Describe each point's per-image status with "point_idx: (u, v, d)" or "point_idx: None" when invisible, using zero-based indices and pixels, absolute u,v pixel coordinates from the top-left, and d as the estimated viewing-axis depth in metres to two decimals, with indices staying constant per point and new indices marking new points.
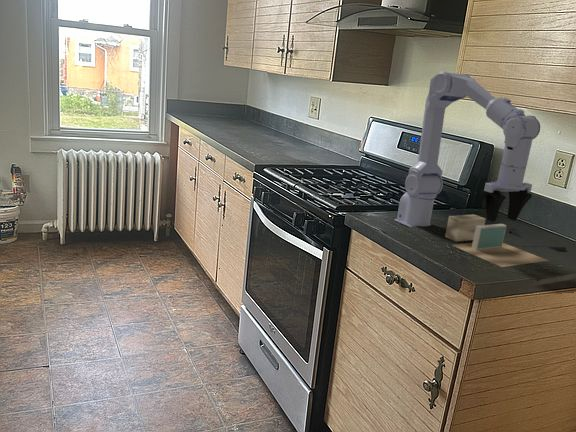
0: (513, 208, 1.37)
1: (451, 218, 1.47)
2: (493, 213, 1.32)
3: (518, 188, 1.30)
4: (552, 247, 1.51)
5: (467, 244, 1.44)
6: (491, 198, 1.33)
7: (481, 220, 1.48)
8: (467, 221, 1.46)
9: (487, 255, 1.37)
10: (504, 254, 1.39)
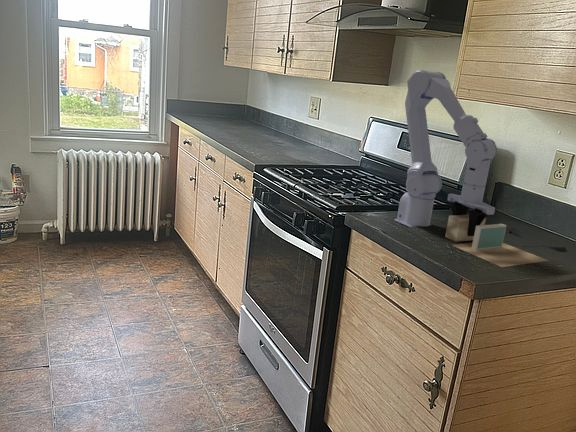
0: None
1: (451, 217, 1.47)
2: None
3: None
4: (552, 247, 1.51)
5: (467, 244, 1.44)
6: None
7: None
8: (467, 221, 1.45)
9: (487, 255, 1.37)
10: (504, 254, 1.39)
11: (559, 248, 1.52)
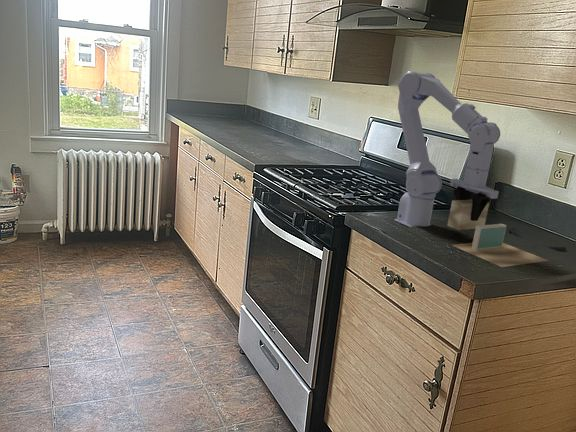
0: None
1: (454, 202, 1.45)
2: None
3: None
4: (552, 247, 1.51)
5: (467, 244, 1.44)
6: None
7: None
8: (470, 205, 1.44)
9: (487, 255, 1.37)
10: (504, 254, 1.39)
11: (559, 248, 1.52)
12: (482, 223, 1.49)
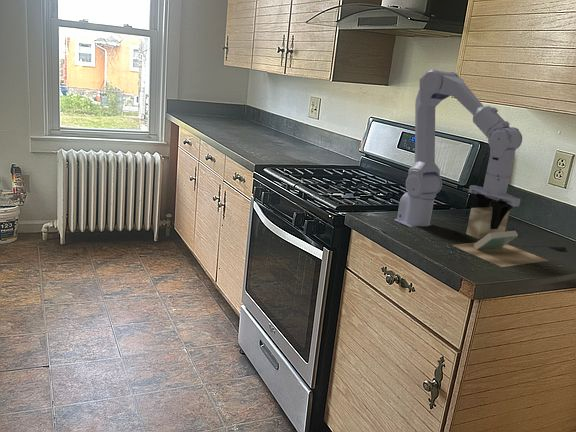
0: None
1: (473, 210, 1.40)
2: None
3: None
4: (552, 247, 1.51)
5: (467, 244, 1.44)
6: None
7: None
8: (490, 213, 1.39)
9: (487, 255, 1.37)
10: (504, 254, 1.39)
11: (559, 248, 1.52)
12: (502, 231, 1.44)
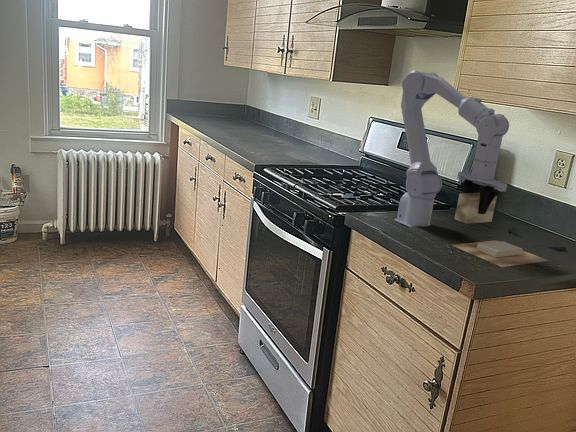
0: None
1: (461, 195, 1.43)
2: None
3: None
4: (552, 247, 1.51)
5: (467, 244, 1.44)
6: None
7: None
8: (478, 198, 1.42)
9: (487, 255, 1.37)
10: None
11: (559, 248, 1.52)
12: (490, 217, 1.47)
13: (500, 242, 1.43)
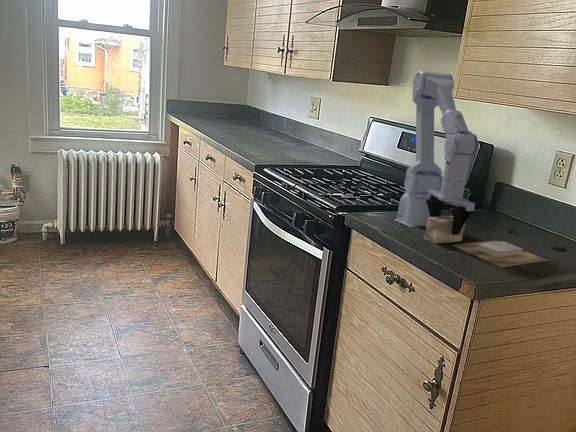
0: None
1: (429, 219, 1.43)
2: None
3: None
4: (552, 247, 1.51)
5: (467, 244, 1.44)
6: None
7: None
8: (446, 222, 1.42)
9: (487, 255, 1.37)
10: None
11: (559, 248, 1.52)
12: (459, 240, 1.46)
13: (500, 242, 1.43)
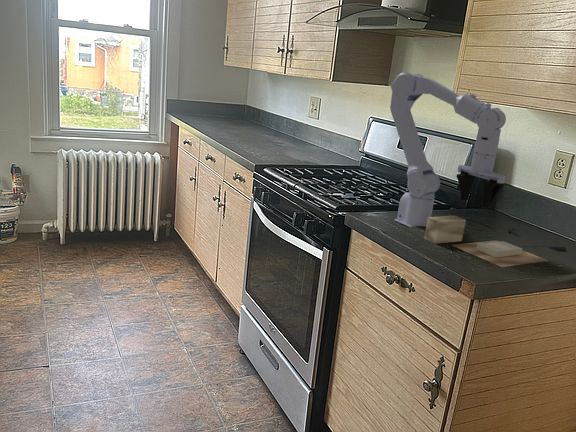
0: None
1: (429, 219, 1.43)
2: None
3: None
4: (552, 247, 1.51)
5: (467, 244, 1.44)
6: None
7: (461, 221, 1.44)
8: (446, 222, 1.42)
9: (487, 255, 1.37)
10: None
11: (559, 248, 1.52)
12: (459, 240, 1.46)
13: (500, 242, 1.43)
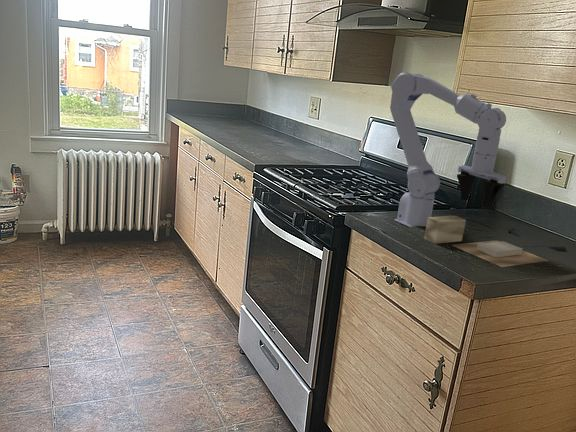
0: None
1: (429, 219, 1.43)
2: None
3: None
4: (552, 247, 1.51)
5: (467, 244, 1.44)
6: None
7: (461, 221, 1.44)
8: (446, 222, 1.42)
9: (487, 255, 1.37)
10: None
11: (559, 248, 1.52)
12: (459, 240, 1.46)
13: (500, 242, 1.43)
